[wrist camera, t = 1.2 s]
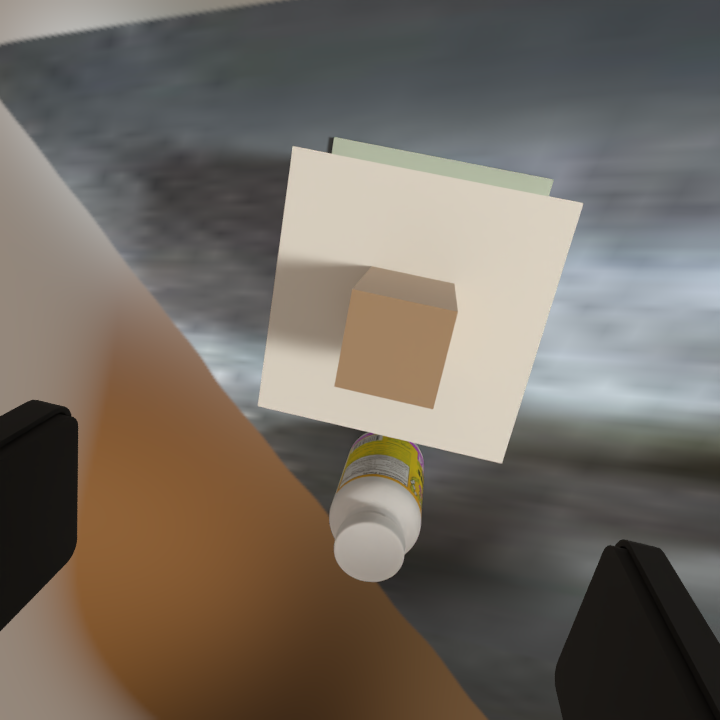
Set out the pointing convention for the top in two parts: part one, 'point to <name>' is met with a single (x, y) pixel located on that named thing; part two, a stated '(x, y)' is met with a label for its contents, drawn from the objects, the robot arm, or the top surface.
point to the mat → (442, 166)
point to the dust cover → (410, 301)
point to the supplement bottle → (377, 507)
